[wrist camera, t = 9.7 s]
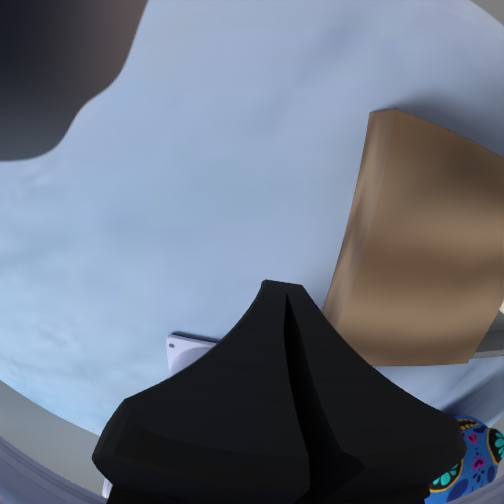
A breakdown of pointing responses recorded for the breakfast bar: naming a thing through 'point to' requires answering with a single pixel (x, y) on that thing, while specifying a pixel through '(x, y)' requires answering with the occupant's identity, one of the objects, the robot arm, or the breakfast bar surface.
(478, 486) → the ceramic pot
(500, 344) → the bin
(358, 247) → the tan wooden board
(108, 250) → the breakfast bar surface
